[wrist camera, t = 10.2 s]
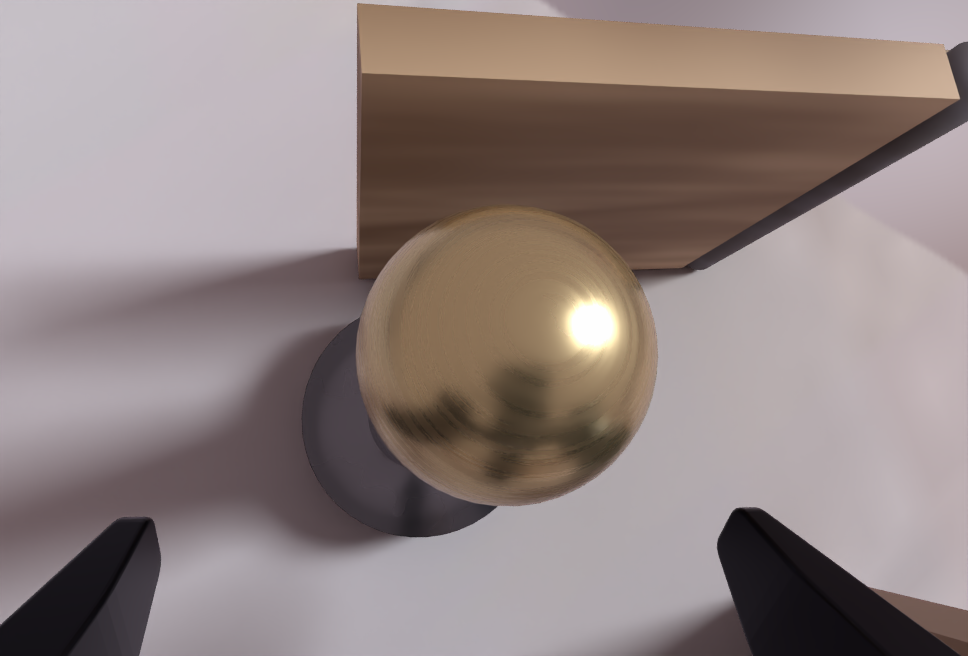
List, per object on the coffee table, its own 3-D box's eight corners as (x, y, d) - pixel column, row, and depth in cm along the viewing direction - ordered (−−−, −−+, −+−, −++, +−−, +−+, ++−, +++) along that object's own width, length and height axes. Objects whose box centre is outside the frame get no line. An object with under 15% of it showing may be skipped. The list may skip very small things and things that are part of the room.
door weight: (478, 559, 17) (783, 801, 5) (271, 485, 17) (15, 551, 4) (543, 361, 19) (886, 174, 7) (359, 286, 18) (362, -78, 6)
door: (717, 269, 21) (1017, 106, 11) (359, 282, 18) (362, 78, 9) (710, 232, 21) (998, 43, 12) (356, 239, 18) (357, -2, 9)
